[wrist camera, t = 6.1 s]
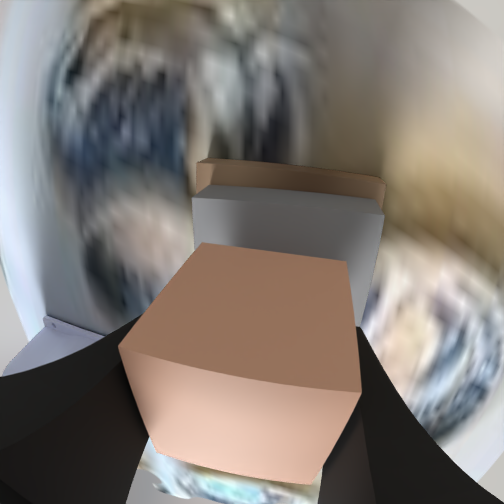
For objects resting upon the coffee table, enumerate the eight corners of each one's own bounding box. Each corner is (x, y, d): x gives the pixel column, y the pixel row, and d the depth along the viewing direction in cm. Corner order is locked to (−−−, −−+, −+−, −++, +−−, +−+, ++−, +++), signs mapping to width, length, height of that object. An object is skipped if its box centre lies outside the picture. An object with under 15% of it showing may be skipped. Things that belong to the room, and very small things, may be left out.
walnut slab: (210, 294, 18) (199, 314, 16) (211, 156, 15) (196, 162, 13) (347, 315, 17) (349, 337, 15) (377, 175, 13) (386, 184, 12)
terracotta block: (206, 347, 12) (156, 452, 7) (202, 242, 10) (117, 346, 5) (320, 365, 11) (310, 484, 7) (346, 261, 9) (361, 392, 5)
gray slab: (214, 316, 16) (202, 340, 14) (208, 184, 13) (191, 197, 11) (347, 332, 15) (349, 360, 13) (375, 199, 12) (384, 215, 10)
